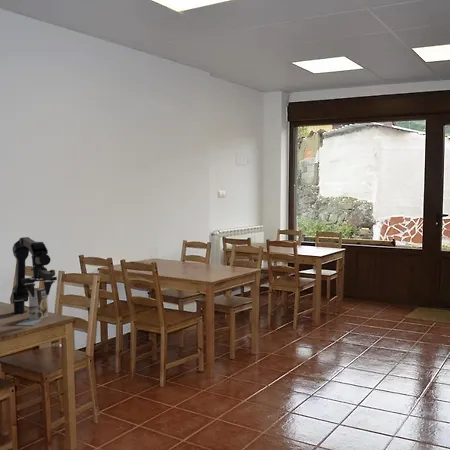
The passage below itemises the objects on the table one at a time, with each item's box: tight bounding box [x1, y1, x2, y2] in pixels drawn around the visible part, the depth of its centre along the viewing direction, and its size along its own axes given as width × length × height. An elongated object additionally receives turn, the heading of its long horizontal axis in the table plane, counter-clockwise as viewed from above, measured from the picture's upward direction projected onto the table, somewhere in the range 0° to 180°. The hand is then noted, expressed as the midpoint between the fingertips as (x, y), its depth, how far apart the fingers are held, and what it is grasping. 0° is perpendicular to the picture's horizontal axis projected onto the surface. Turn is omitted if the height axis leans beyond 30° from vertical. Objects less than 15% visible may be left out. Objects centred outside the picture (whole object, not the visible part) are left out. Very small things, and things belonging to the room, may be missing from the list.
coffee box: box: [28, 287, 49, 320], centre depth 294 cm, size 9×6×16 cm
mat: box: [15, 319, 43, 327], centre depth 283 cm, size 11×9×1 cm
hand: (40, 296), depth 281 cm, fingers open, 9 cm apart
